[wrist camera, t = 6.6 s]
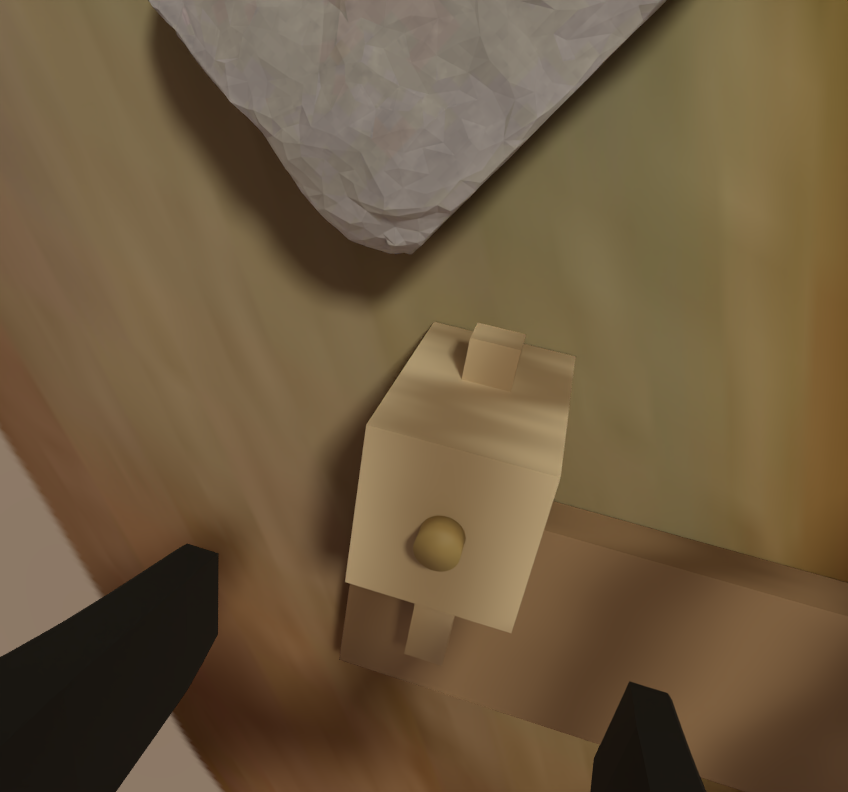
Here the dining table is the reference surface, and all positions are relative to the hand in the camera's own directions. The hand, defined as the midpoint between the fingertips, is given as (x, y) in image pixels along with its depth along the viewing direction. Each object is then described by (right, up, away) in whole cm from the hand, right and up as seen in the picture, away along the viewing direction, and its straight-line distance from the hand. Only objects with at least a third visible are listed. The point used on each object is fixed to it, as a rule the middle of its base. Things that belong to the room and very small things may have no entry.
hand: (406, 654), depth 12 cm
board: (+7, -3, +11) cm, 13 cm away
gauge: (+2, +2, +9) cm, 10 cm away
